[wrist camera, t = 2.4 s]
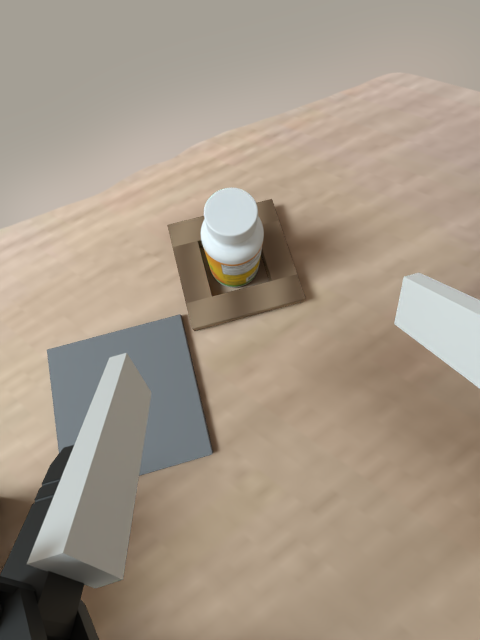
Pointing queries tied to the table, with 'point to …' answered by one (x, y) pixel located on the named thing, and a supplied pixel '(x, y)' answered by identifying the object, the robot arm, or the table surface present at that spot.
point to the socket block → (243, 301)
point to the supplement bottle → (232, 236)
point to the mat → (159, 375)
